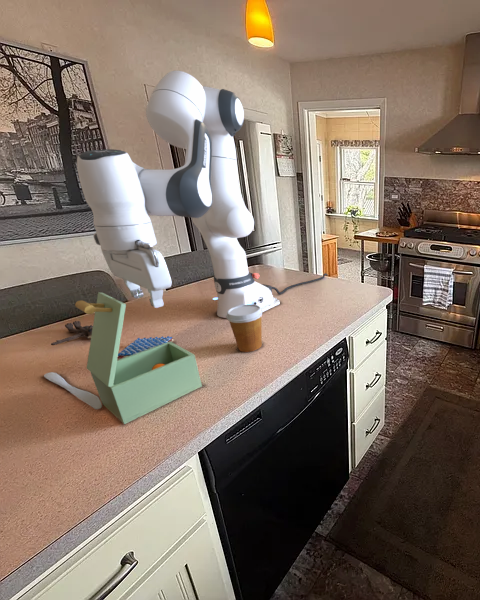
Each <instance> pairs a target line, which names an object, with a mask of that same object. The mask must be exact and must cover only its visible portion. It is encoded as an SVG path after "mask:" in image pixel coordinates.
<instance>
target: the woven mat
mask: <svg viewBox="0 0 480 600" xmlns="http://www.w3.org/2000/svg"><path fill="white" fill-rule="evenodd" d="M170 341H171V342H172V343H174V341H175V339H173V337H172V336H169V335H168V336H165V337H164V336H160V337H158V336H154V337H152V336H151V337H150V336H149V337H143V338H140V337H137V338H136V339H135V340H133V342H130V343H129V345H127V346H126V347H124V348H123V349H122V350H119V352H118V358H117V360H119V359H122V358H125V357H128V356H130V355H133V354H136V353H139V352H142V351H144V350H147V349H150V348H153V347H156V346H158V345H161V344H164V343H167V342H170Z"/></svg>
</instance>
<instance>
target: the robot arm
mask: <svg viewBox="0 0 480 600" xmlns="http://www.w3.org/2000/svg"><path fill="white" fill-rule="evenodd" d="M244 110H245V109H244V106H243V103H242V101H241V99H240V97H239V96H238V95H237V94H236V93H235V92H233V91H232V90H228V89H225V88H221V89H220V88H215V87H211V86H206V85H202V84H201V83H200V82H199V80H198V79H197V78H196V77H194V75H192V74H190V73H188V72H185V71H183V70H171V71H169V72H167V73H166V74H165V75H164V76H163V77H162V78H161V79H160V80H159V81H158V83H157V84H156V85H155V87H154V89H153V91H152V92H151V95H150V97H149V98H148V101H147V105H146V109H145V116H146V120H147V122H148V124H149V126H150V128H151V129H152V130H153V132H154V133H155V134H156V135H157V136H158V137H159V138H160V139H162V141H165V142H166V143H168V144H169V145H171V146H173V147H176V148H179V149H184V150H185V155H184V165H182V166H180V167H177V168H172V169H149V168H145V167H143V166H140V165H138V164H137V163H135V162H133V160H132V158H131V156H130V155H129V153H128V152H126V151H124V150H121V149H112V148H111V149H110V148H107V149H104V148H103V149H93V150H87V151H83V152H81V153H80V154H78V155H77V157H76V168H77V174H78V179H79V184H80V187H81V190H82V193H83V197H84V200H85V202H86V204H87V205H88V206H89V208H90V209H91V211H92V214H93V227H94V229H95V233H93V241H94V243H95V244H96V245H98V246H100V251H101V253H102V255H103V258H104V260H105V263H106V264H107V267H108V269H109V270H110V272H111V273H112V275H113V276H114V277H117V278H120V279H121V280H123V283H124V284H125V286H126V288H127V289H128V290H129V293H130V295H131V297H132V298H134V299H141V298H143V297H144V295H145V294H144V292H143V289H142V288H144V289H146V290H147V291H148V293H149V300H148V301H149V302H150V306H152V307H153V308H156V309H158V308H161V307H164V305H165V303H164V299H163V295H164V290H166V289H170V288H171V287H172V282H173V280H172V278H171V275H170V271H169V268H168V266H167V263H166V260H165V258H164V256H163V254H162V252H161V251H159V250H157V249H156V248H155V249H154V248H153V247H154V246H156V245H157V244H158V240H157V237H156V234H155V230H154V226H153V223H152V220H151V217H153V216H154V217H155V216H156V217H181V218H191V220H192V223H193V224H194V226H195V227H196V228H197V230H198V231H199V233H200V235H201V237H202V240H203V242H204V245H205V246H206V248H207V251H208V253H209V256H210V260H211V266H212V269H213V274H214V276H213V282H214V288H215V291H216V295H217V297H213V298H212V300H214V301H216V300H217V309H216V315H217V317H220V318H222V319H223V318H224V319H227V318H226V316H227V312H228V310H229V309H231V308H233V307H236V306H239V305H246V304H254V305H258V306H260V308H261V310H262V311H263V313H265V312H266V311H268V310H270V309H272V308H275V307H276V306H279V305H280V304H281V301H280V300H279V299H278V298H277V297H274V295H273V290H275V292H276V293H277V294H278V295H282V294H284V293H285V292H286V291H287V290H289V289H291V288H295V287H298V286H301V285H307V284H310V283H313V282H317V281H320V280H323V279H324V278H325V277H326V276H327V277H328V276H329V274H328V273H327V272H325V273H323V275H322V276H323V277H322V276H321V277H318V278H314V279H311V280H307V281H301V282H299V283H295V284H292V285H289V286H286V287H285V288H284V289H283V290H282V291H279V289H278V288H277V287H275V286H272V285H269V284H266V283H265V284H264V283H260V282H257V281H255V279H256V280H259V278H260V277H261V276H260V273H257V272H250V271H249V267H248V260H247V259H248V258H247V253H246V251H245V250H244V248H243V247H242V246H241V244H240V242H239V241H238V239H239V238H245V237H247V236H249V235H250V234H251V233H252V232H253V230H254V228H255V219H254V216H253V214H252V213H251V212H250V211H249V209H248V208H247V206H246V204H245V201H244V198H243V195H242V193H241V189H240V183H239V174H238V173H239V171H238V160H237V150H236V149H237V148H236V144H235V139H234V136H235V135H236V133H237V132H239V131H240V130H241V129H242V127H243V126H244V120H245V111H244ZM150 216H151V217H150Z"/></svg>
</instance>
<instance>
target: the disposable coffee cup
mask: <svg viewBox="0 0 480 600" xmlns="http://www.w3.org/2000/svg"><path fill="white" fill-rule="evenodd" d="M263 313H264V312H263V311H262V310H261V308H260V306H258V305H254V304H246V305H239V306H236V307H233V308H231V309H229V310H228V312H227V316H226V318H225V319H227V321H228V322H229V325H230V328H231V331H232V334H233V336H234V339H235V342H236V345H237V348H238V350H239V352H243V353H250V352H254V351H256V350H259V349H260V348H262V345H263V342H262V340H263V337H262V336H263V334H262V332H263V329H262V327H263V326H262V316H263Z"/></svg>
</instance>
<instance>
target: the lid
mask: <svg viewBox="0 0 480 600" xmlns="http://www.w3.org/2000/svg"><path fill="white" fill-rule="evenodd" d="M74 306H75V307H76V308H77V309H79V310H80V311H81V312H83V313H85V314H87V315H92V314H94V315H93V316H94V318H93V323H92V326H93V329H92V336H91V338H90V343H89V349H88V355H87V364H86V369H87V370H88V371H89V372H90V374H91V373H93V374H94V375H95V376H96V377H97V378H98V379H100V380H101V381H102V382H103V383H104V384H105V385H106V386H108V387H111V386H113V383H114V377H115V370H116V364H117V360H118V359H117V358H118V357H119V356H118V353H120V345H121V338H122V332H123V326H124V319H125V314H126V307H127V304H126V303H125V302H122V301H120V300H118V299H116V298H115V297H112V296H110V295H108V294H107V293H104V292H97V297H96V303H95V302H87V301H85V300H81V299H80V300H77V301H76V302H75V304H74Z"/></svg>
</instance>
